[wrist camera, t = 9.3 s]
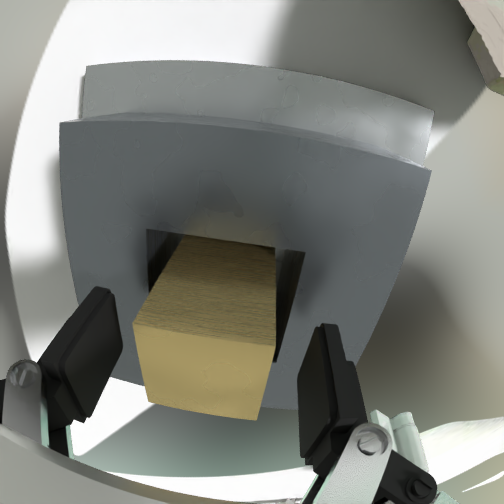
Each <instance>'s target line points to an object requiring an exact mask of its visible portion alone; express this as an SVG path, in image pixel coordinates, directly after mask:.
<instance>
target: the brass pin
mask: <svg viewBox="0 0 504 504" xmlns="http://www.w3.org/2000/svg"><path fill="white" fill-rule="evenodd" d="M132 324H133V330H134V335H135V341H136V346H137V352H138V357H139V362H140V367H141V371H142V376H143V380H144V385H145V389H146V393H147V397H148V402H152V403H156V404H160V405H165V406H169V407H174V408H179V409H184V410H189V411H194V412H200V413H206V414H212V415H218V416H225V417H232V418H240V419H248V420H257V417H258V413H259V409H260V406H261V402H262V398H263V394H264V391H265V387H266V383H267V379H268V375H269V371H270V368H271V364H272V360H273V356H274V352H275V348H276V253H275V247H269V246H263V245H256V244H249V243H242V242H236V241H229V240H222V239H215V238H208V237H201V236H194V235H187V234H185V236H184V237H183V239H182V240H181V242H180V244H179V245H178V247H177V248H176V250H175V252H174V253H173V255H172V256H171V258H170V260H169V261H168V263H167V265H166V266H165V268H164V270H163V271H162V273H161V275H160V276H159V278H158V280H157V281H156V283H155V285H154V286H153V288H152V290H151V292H150V293H149V295H148V297H147V298H146V300H145V302H144V304H143V305H142V307H141V309H140V311H139V313H138V314H137V316H136V318H135V320H134V321H133V323H132Z"/></svg>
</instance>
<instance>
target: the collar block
mask: <svg viewBox="0 0 504 504" xmlns="http://www.w3.org/2000/svg"><path fill="white" fill-rule="evenodd" d="M433 116H434V111H433V110H430V109H428V108H425V107H423V106H420V105H417V104H415V103H412V102H409V101H406V100H404V99H401V98H398V97H395V96H392V95H389V94H386V93H382V92H379V91H376V90H373V89H369V88H366V87H362V86H359V85H355V84H351V83H347V82H343V81H339V80H335V79H331V78H326V77H322V76H317V75H312V74H307V73H302V72H297V71H291V70H285V69H278V68H272V67H264V66H256V65H248V64H238V63H226V62H211V61H184V60H161V61H134V62H120V63H108V64H99V65H91V66H86V74H85V83H84V94H83V109H82V119H76V120H70V121H65V122H60V130H59V154H60V181H61V195H62V207H63V217H64V225H65V233H66V240H67V247H68V254H69V260H70V265H71V271H72V276H73V281H74V286H75V291H76V295H77V300H78V304H79V305H80V304H81V303H82V302H83V300H84V299H85V298H86V297H87V295H88V294H89V293H90V292H91V290H92V289H93V288H94V287H95V286H99V287H103V288H108V289H110V290H111V293H113V294H114V295H115V301H116V307H117V314H118V319H119V325H120V331H121V336H122V341H123V350H122V353H121V355H120V357H119V359H118V361H117V363H116V365H115V367H114V369H113V371H112V373H111V375H110V377H113V378H116V379H120V380H123V381H127V382H131V383H134V384H138V385H142V386H145V385H144V380H143V376H142V371H141V367H140V362H139V357H138V352H137V346H136V341H135V335H134V330H133V324H132V323H133V321H134V320H135V318H136V316H137V314H138V313H139V311H140V309H141V307H142V305H143V304H144V302H145V300H146V298H147V297H148V295H149V293H150V292H151V290H152V288H153V286H154V285H155V283H156V281H157V280H158V278H159V276H160V275H161V273H162V271H163V270H164V268H165V266H166V265H167V263H168V261H169V260H170V258H171V256H172V255H173V253H174V252H175V250H176V248H177V247H178V245H179V244H180V242H181V240H182V239H183V237H184V236H185V234H187V235H194V236H201V237H208V238H215V239H222V240H229V241H236V242H242V243H249V244H256V245H263V246H269V247H275V253H276V348H275V352H274V356H273V360H272V364H271V368H270V371H269V375H268V379H267V383H266V387H265V391H264V394H263V398H262V402H261V406H260V407H269V408H280V409H294V410H298V394H297V376H298V372H299V370H300V367H301V365H302V362H303V359H304V357H305V354H306V351H307V348H308V346H309V343H310V340H311V337H312V334H313V332H314V329H315V327H316V326H318V327H320V325H321V324H322V323H328V324H337V325H338V327H339V332H340V336H341V340H342V344H343V348H344V352H345V357H346V361H353V362H354V365H355V366H356V364H357V362H358V360H359V358H360V357H361V355H362V353H363V351H364V349H365V346H366V345H367V343H368V341H369V339H370V337H371V335H372V332H373V330H374V328H375V326H376V324H377V322H378V320H379V318H380V315H381V313H382V311H383V309H384V306H385V304H386V302H387V300H388V297H389V295H390V293H391V290H392V288H393V285H394V283H395V280H396V278H397V275H398V273H399V270H400V268H401V265H402V263H403V260H404V257H405V255H406V252H407V249H408V246H409V244H410V241H411V238H412V235H413V232H414V229H415V226H416V223H417V220H418V217H419V213H420V210H421V207H422V204H423V201H424V197H425V193H426V190H427V186H428V183H429V179H430V175H431V170H430V169H427V168H425V167H423V163H424V159H425V155H426V151H427V146H428V142H429V137H430V132H431V127H432V122H433Z"/></svg>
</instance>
